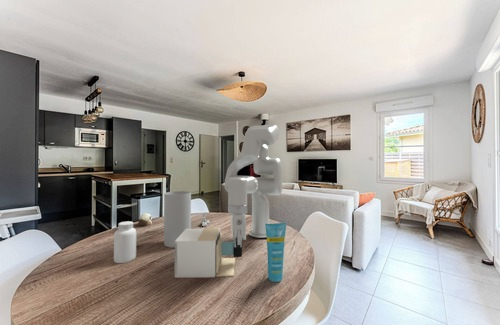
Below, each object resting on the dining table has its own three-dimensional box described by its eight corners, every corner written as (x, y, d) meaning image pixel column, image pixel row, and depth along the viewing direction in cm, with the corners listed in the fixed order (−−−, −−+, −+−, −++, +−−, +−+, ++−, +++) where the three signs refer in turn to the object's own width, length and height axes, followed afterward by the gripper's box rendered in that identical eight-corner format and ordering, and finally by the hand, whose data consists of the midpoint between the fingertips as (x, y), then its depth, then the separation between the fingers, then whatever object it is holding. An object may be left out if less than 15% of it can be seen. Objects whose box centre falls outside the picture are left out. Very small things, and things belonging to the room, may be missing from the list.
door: (239, 254, 87) (239, 232, 87) (239, 262, 80) (240, 237, 80) (220, 255, 87) (220, 232, 87) (219, 263, 80) (220, 238, 80)
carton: (235, 258, 86) (235, 227, 86) (233, 277, 72) (233, 239, 72) (186, 258, 86) (186, 227, 86) (174, 277, 72) (174, 239, 72)
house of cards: (215, 227, 130) (215, 214, 130) (201, 228, 128) (201, 215, 128) (213, 223, 139) (213, 211, 139) (200, 224, 136) (200, 212, 136)
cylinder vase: (183, 237, 112) (183, 190, 112) (195, 243, 103) (195, 192, 103) (159, 243, 103) (160, 192, 103) (170, 250, 94) (170, 195, 94)
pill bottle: (140, 256, 88) (140, 221, 88) (123, 265, 80) (123, 226, 80) (126, 253, 91) (126, 219, 91) (108, 262, 83) (109, 224, 83)
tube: (267, 283, 69) (267, 225, 69) (263, 275, 73) (263, 221, 73) (288, 280, 70) (288, 224, 70) (282, 273, 75) (283, 220, 75)
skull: (140, 220, 138) (152, 209, 138) (150, 232, 136) (161, 221, 136) (128, 224, 126) (141, 212, 126) (139, 237, 124) (151, 225, 124)
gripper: (250, 213, 75) (250, 264, 74) (244, 204, 90) (244, 247, 90) (229, 213, 73) (229, 265, 73) (227, 205, 89) (226, 248, 89)
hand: (237, 255), depth 82 cm, fingers closed
